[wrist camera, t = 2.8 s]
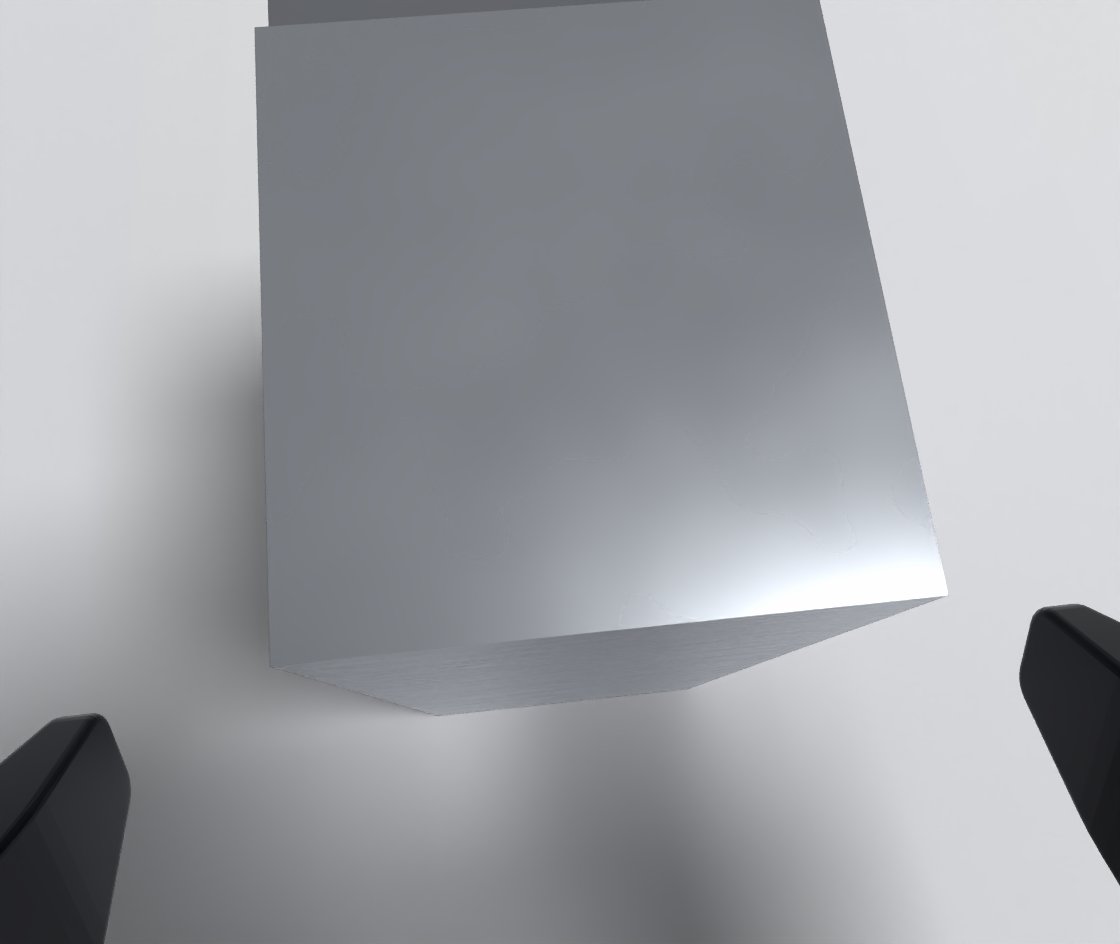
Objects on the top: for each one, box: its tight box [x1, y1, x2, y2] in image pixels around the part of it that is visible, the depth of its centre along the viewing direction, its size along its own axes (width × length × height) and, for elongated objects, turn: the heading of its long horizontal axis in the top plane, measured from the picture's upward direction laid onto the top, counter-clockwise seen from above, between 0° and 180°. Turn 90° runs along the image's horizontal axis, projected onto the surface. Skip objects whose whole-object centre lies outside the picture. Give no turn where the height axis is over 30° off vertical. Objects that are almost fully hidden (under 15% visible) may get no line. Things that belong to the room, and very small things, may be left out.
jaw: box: [255, 0, 948, 716], centre depth 14 cm, size 5×6×12 cm
